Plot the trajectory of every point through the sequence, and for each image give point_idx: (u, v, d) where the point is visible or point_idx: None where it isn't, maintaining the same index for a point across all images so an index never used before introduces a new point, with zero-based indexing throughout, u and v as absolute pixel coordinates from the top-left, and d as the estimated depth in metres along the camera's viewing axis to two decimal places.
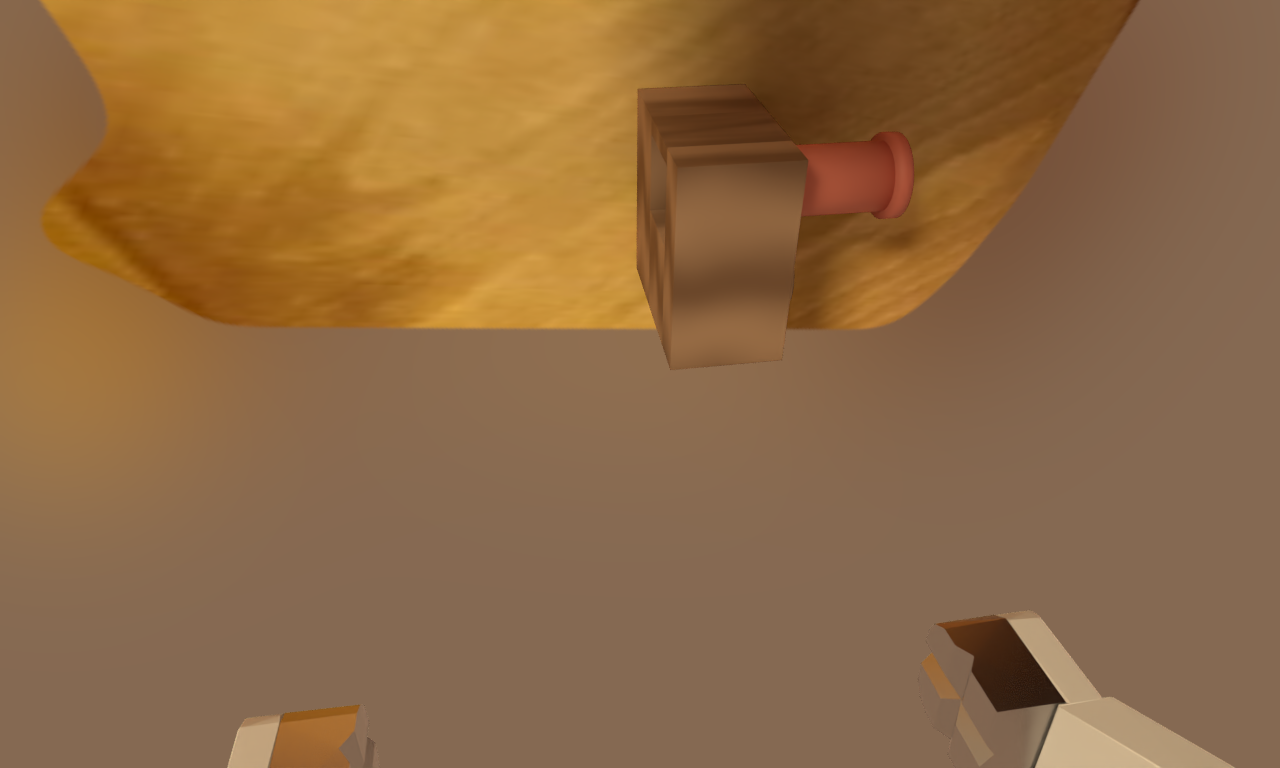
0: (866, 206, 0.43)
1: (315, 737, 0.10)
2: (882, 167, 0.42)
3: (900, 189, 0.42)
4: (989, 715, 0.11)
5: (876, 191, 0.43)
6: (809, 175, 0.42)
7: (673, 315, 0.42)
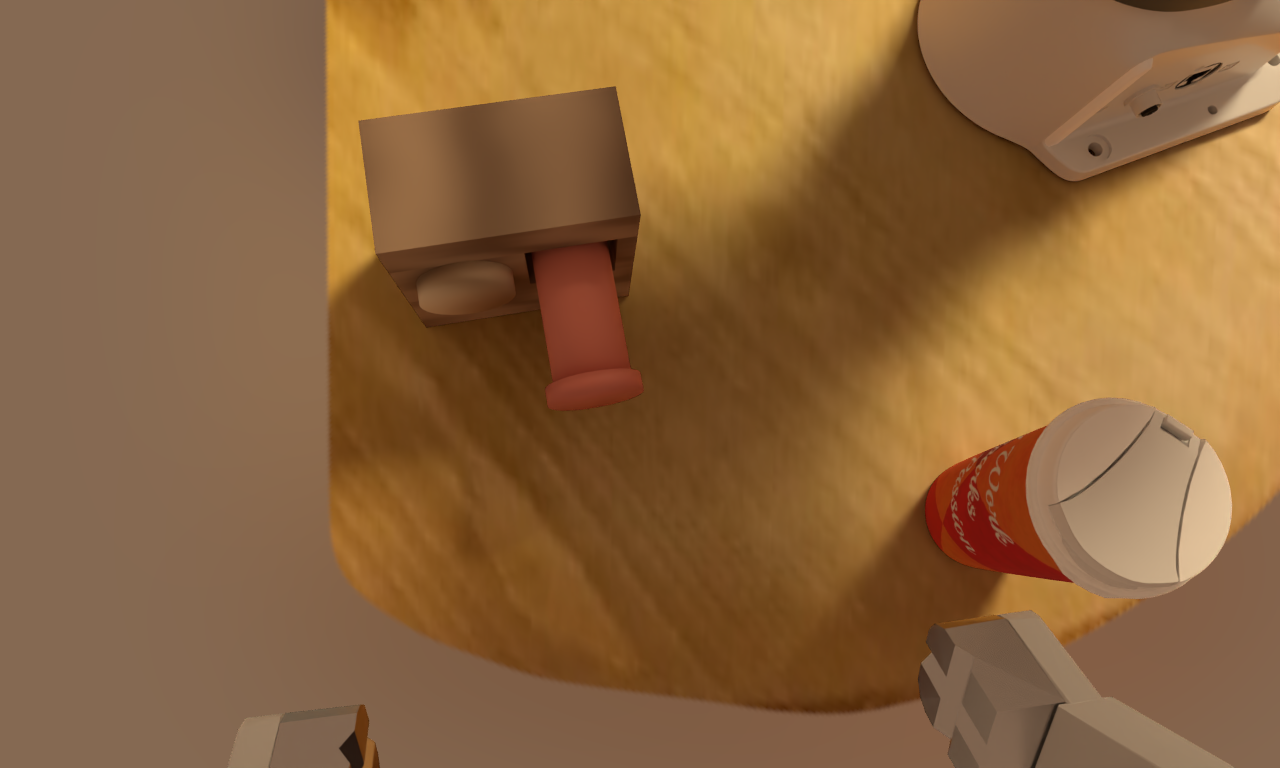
0: (567, 352, 0.37)
1: (315, 737, 0.10)
2: (615, 356, 0.37)
3: (598, 374, 0.36)
4: (989, 715, 0.11)
5: (589, 352, 0.37)
6: (597, 274, 0.38)
7: (438, 111, 0.36)
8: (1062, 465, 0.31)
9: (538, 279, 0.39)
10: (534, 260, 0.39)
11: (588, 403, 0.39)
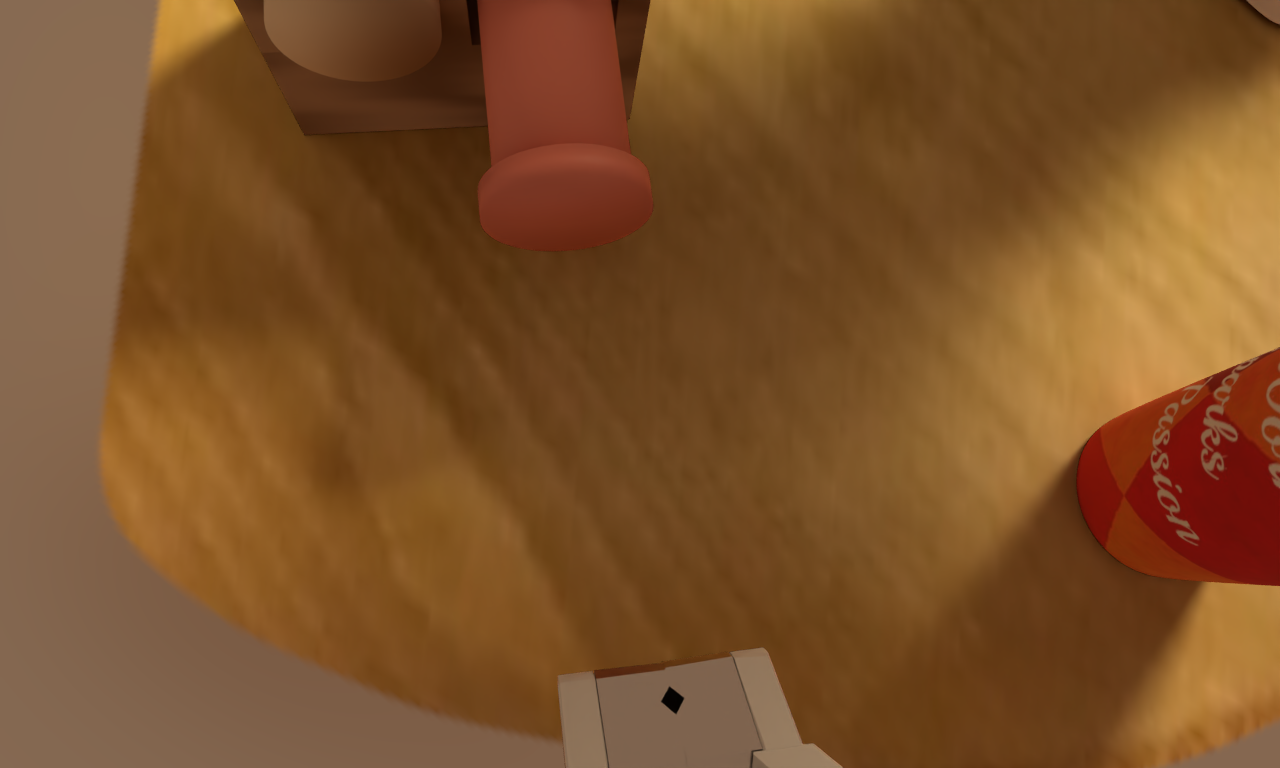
0: (522, 116, 0.20)
1: (635, 691, 0.11)
2: (608, 132, 0.21)
3: (575, 149, 0.20)
4: None
5: (562, 117, 0.20)
6: None
7: None
8: None
9: (482, 4, 0.22)
10: None
11: (553, 230, 0.22)
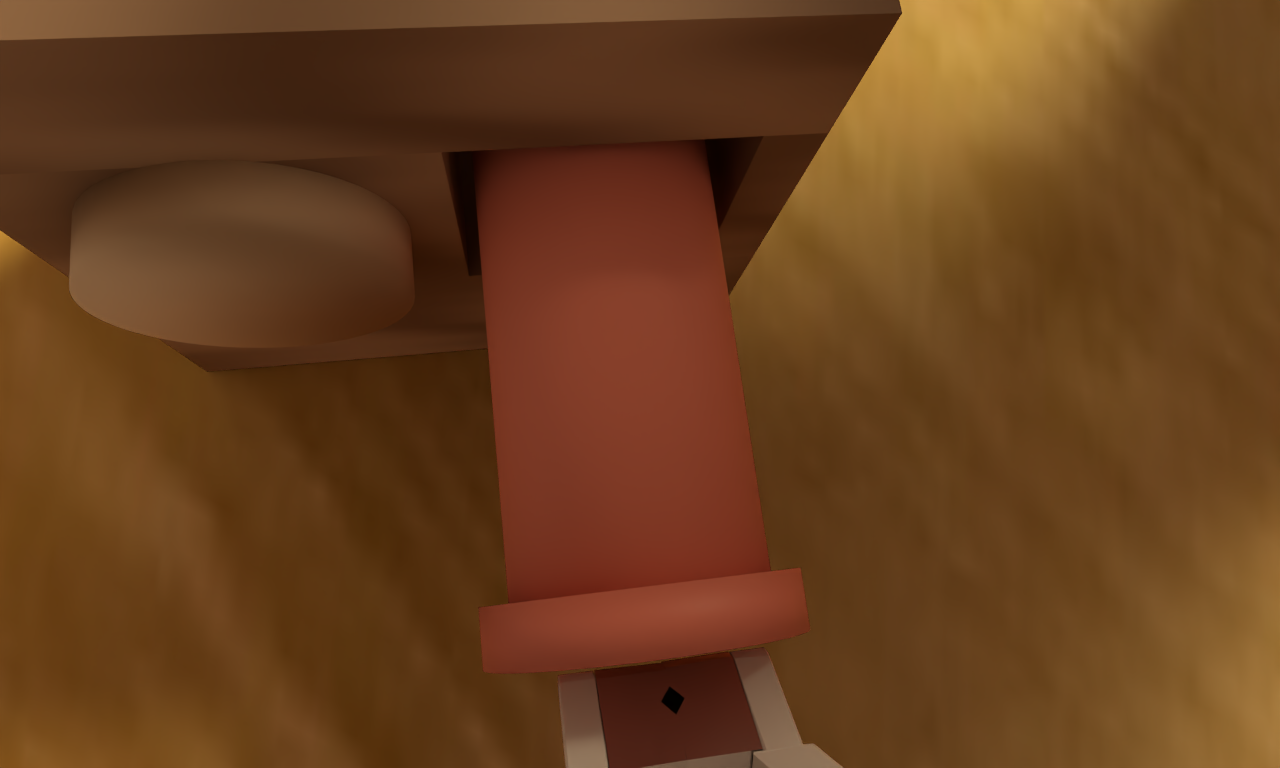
0: (567, 496, 0.10)
1: (635, 691, 0.11)
2: (733, 520, 0.11)
3: (680, 596, 0.10)
4: None
5: (647, 506, 0.10)
6: (682, 236, 0.11)
7: None
8: None
9: (486, 240, 0.12)
10: (479, 181, 0.12)
11: None
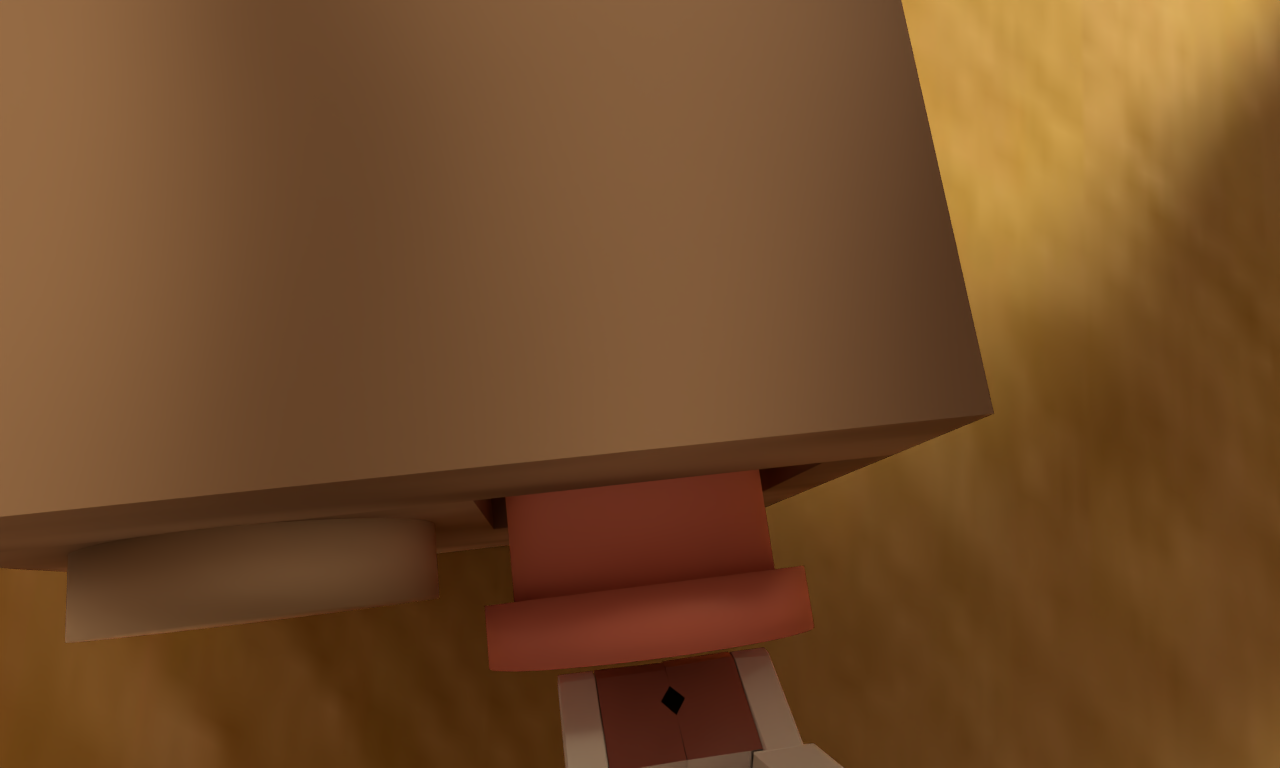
0: (572, 495, 0.10)
1: (635, 691, 0.11)
2: (737, 519, 0.11)
3: (685, 594, 0.10)
4: None
5: (651, 505, 0.10)
6: None
7: None
8: None
9: None
10: None
11: None
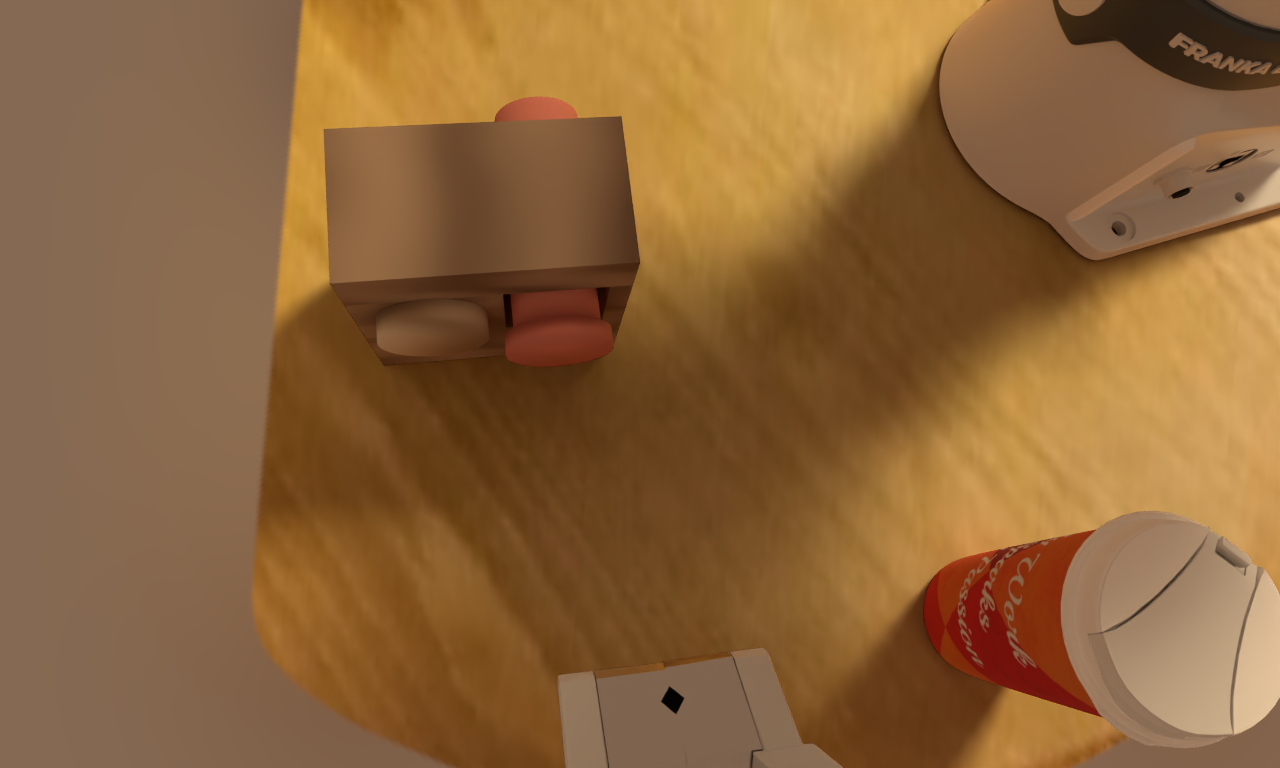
0: (532, 295, 0.33)
1: (635, 691, 0.11)
2: (585, 304, 0.34)
3: (565, 320, 0.33)
4: None
5: (557, 297, 0.33)
6: None
7: (417, 126, 0.31)
8: (1106, 588, 0.27)
9: None
10: None
11: (551, 358, 0.35)
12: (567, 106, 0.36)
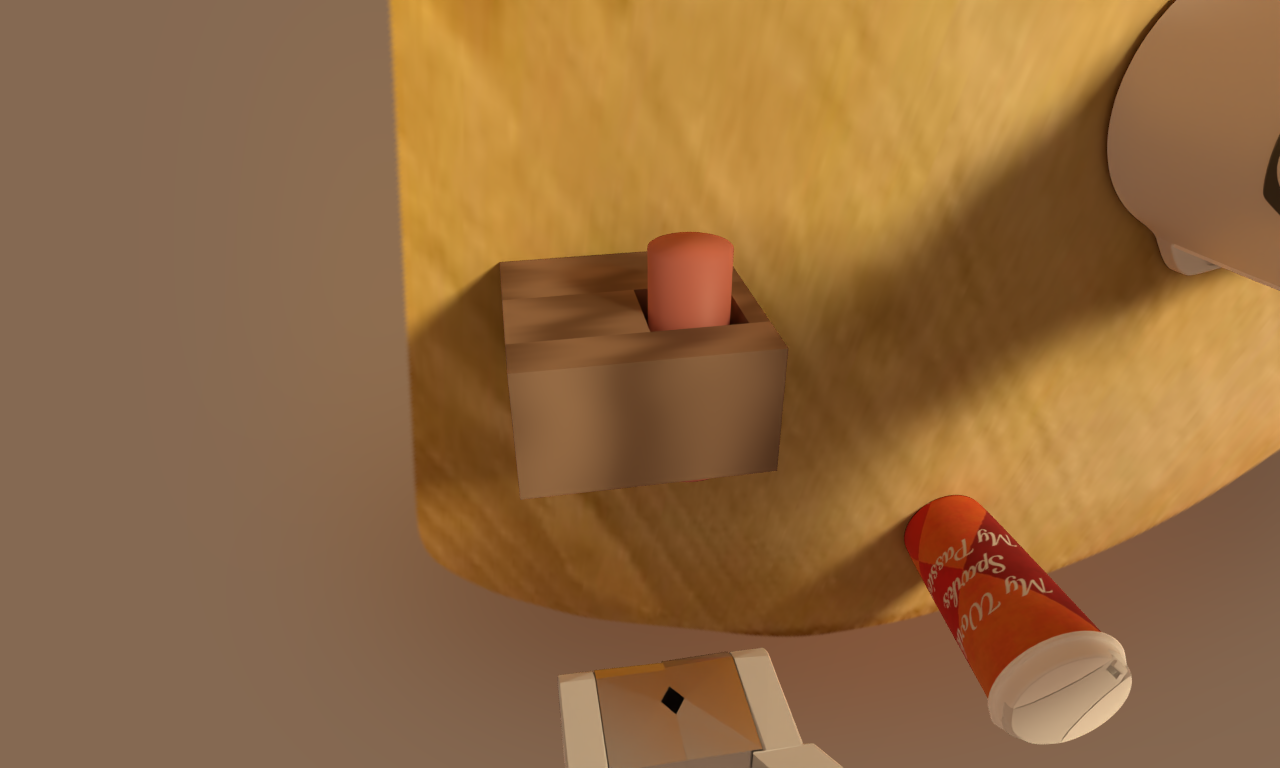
0: None
1: (635, 691, 0.11)
2: None
3: None
4: None
5: None
6: None
7: (596, 367, 0.32)
8: (1027, 690, 0.43)
9: None
10: None
11: None
12: (728, 259, 0.35)
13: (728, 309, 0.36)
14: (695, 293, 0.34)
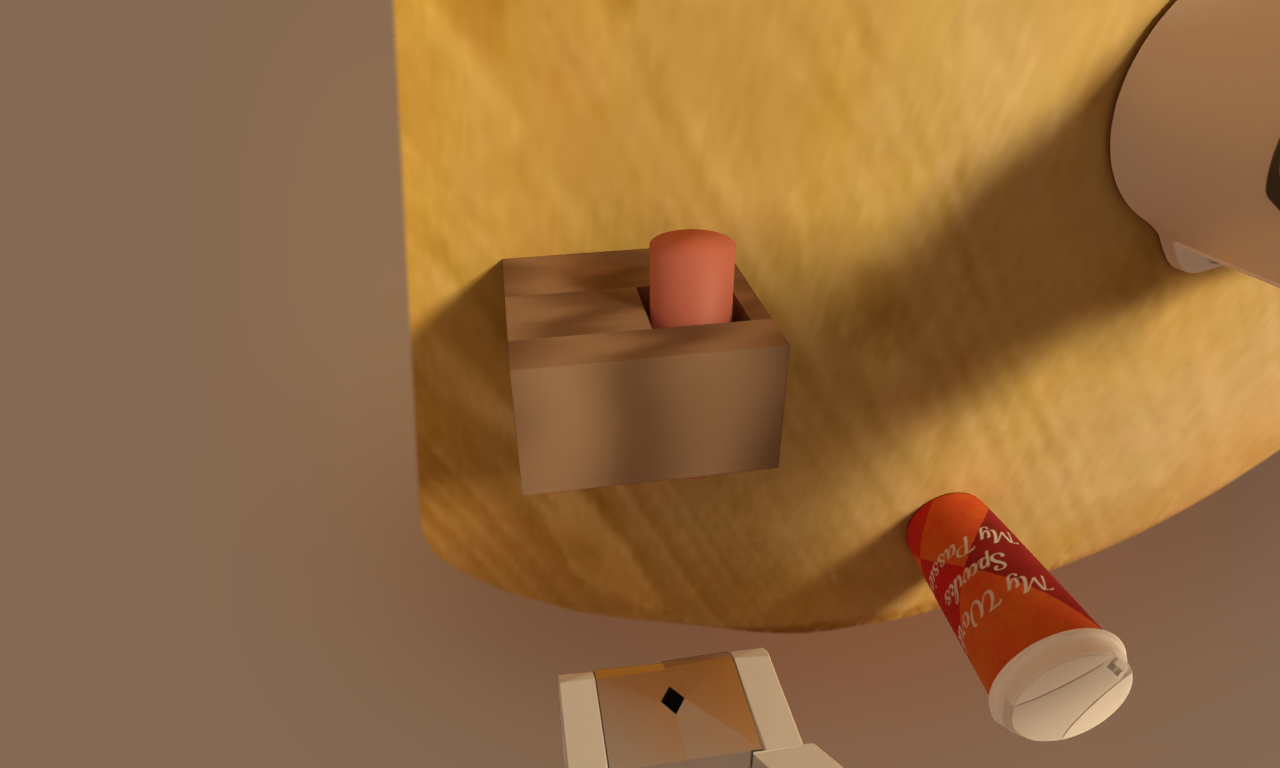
0: None
1: (635, 691, 0.11)
2: None
3: None
4: None
5: None
6: None
7: (598, 364, 0.32)
8: (1028, 687, 0.43)
9: None
10: None
11: None
12: (730, 257, 0.35)
13: (730, 306, 0.36)
14: (697, 290, 0.35)
